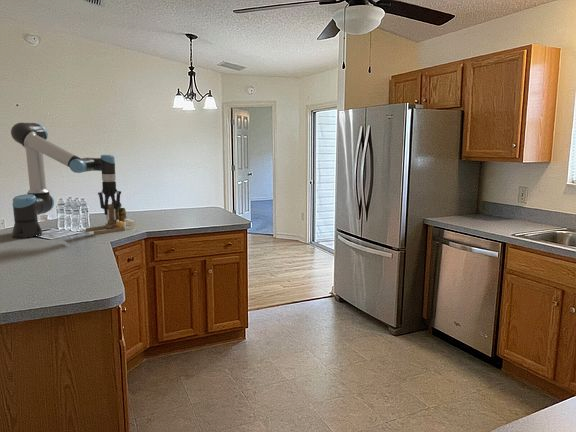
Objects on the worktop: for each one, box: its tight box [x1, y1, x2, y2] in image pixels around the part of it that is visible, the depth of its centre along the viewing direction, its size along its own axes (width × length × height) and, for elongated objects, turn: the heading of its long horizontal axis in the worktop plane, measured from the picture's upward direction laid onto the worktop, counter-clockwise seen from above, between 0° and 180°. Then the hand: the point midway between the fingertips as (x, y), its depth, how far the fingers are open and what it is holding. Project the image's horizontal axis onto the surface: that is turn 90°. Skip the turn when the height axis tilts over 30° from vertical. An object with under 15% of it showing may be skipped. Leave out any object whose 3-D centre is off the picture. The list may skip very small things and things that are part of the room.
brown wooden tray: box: [85, 218, 138, 237], centre depth 268 cm, size 25×17×6 cm
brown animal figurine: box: [115, 199, 128, 224], centre depth 287 cm, size 9×14×18 cm, turn 2°
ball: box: [116, 221, 123, 228], centre depth 272 cm, size 5×5×5 cm
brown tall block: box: [105, 203, 117, 230], centre depth 267 cm, size 4×7×16 cm, turn 44°
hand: (111, 219), depth 267 cm, fingers closed on brown tall block, 3 cm apart
